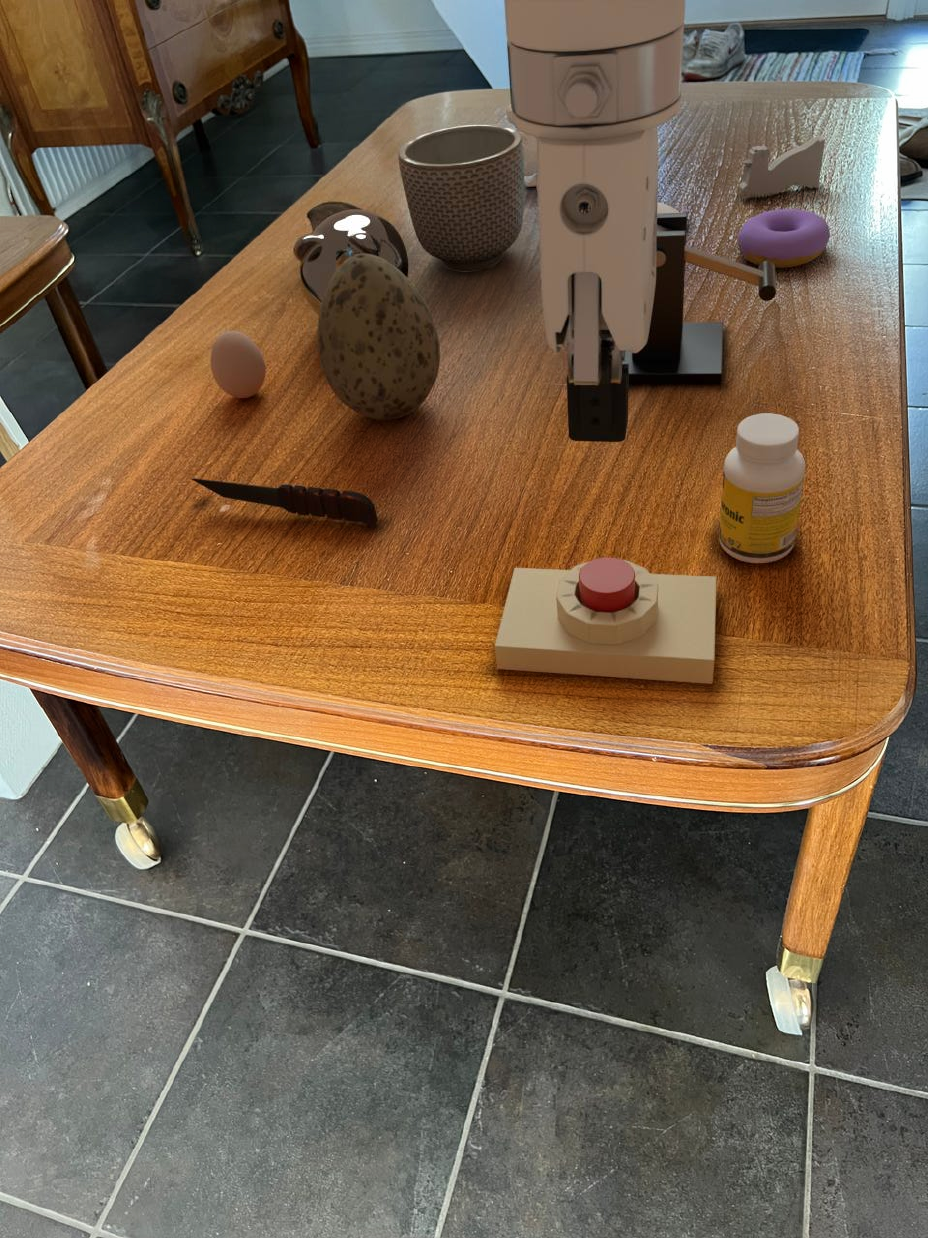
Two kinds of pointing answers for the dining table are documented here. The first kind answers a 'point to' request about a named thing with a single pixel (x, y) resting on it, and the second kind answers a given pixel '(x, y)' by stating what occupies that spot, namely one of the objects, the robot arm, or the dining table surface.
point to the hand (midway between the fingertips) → (598, 433)
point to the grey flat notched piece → (782, 169)
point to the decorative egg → (377, 339)
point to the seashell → (327, 211)
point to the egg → (237, 364)
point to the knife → (301, 500)
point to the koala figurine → (527, 153)
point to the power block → (610, 627)
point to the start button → (607, 584)
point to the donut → (783, 237)
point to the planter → (465, 192)
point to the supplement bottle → (762, 490)
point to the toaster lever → (734, 269)
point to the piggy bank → (345, 248)
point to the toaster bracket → (675, 323)
